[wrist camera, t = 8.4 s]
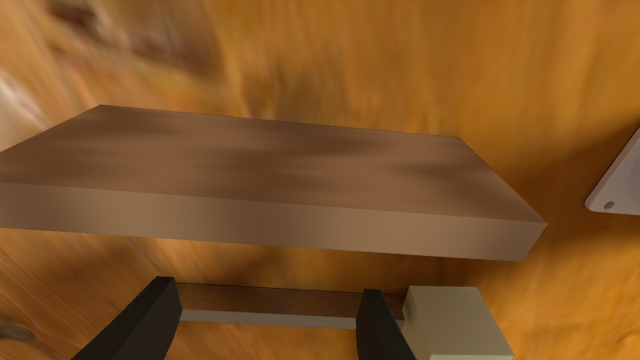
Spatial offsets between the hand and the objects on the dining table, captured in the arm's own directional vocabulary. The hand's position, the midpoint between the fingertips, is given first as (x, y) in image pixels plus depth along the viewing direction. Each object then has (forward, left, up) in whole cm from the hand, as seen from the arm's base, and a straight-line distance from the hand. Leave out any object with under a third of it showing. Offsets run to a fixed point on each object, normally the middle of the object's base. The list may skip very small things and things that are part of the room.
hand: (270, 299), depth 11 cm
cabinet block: (-11, +9, -5) cm, 15 cm away
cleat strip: (0, +7, -5) cm, 9 cm away
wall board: (0, -4, -5) cm, 7 cm away
